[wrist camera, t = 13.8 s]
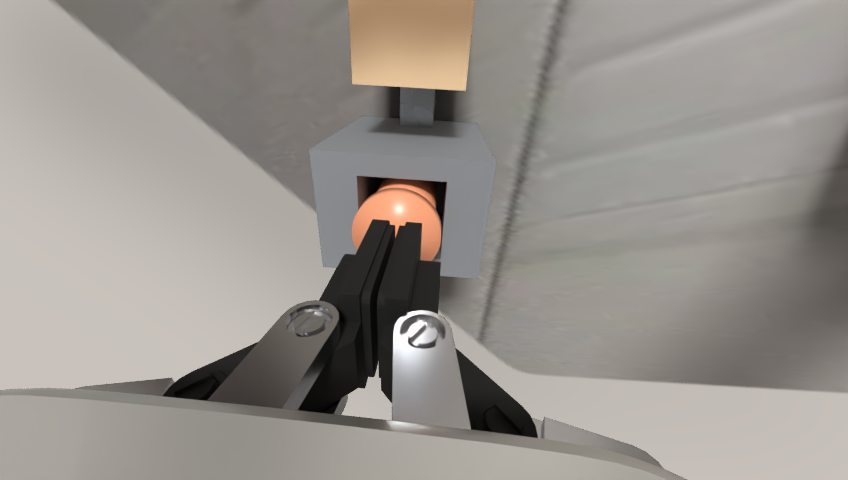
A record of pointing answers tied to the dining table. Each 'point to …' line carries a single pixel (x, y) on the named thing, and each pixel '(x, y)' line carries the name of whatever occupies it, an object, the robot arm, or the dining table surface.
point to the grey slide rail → (417, 107)
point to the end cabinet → (406, 159)
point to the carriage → (411, 42)
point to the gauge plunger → (403, 211)
